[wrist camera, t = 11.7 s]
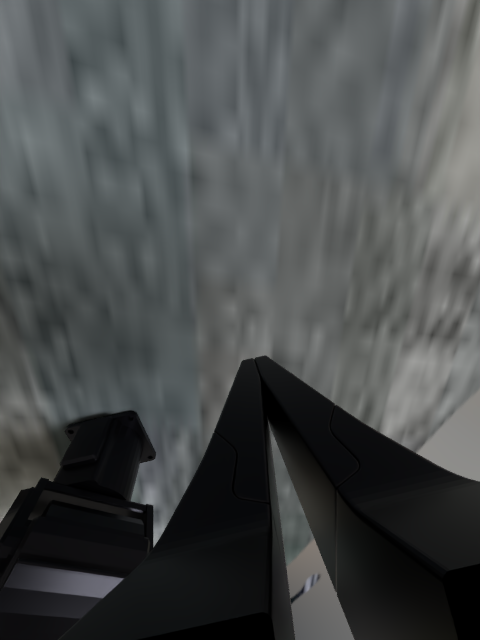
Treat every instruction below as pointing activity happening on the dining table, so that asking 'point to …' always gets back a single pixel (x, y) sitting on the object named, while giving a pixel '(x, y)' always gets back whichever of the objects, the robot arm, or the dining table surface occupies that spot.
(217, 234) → the dining table surface
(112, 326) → the dining table surface
